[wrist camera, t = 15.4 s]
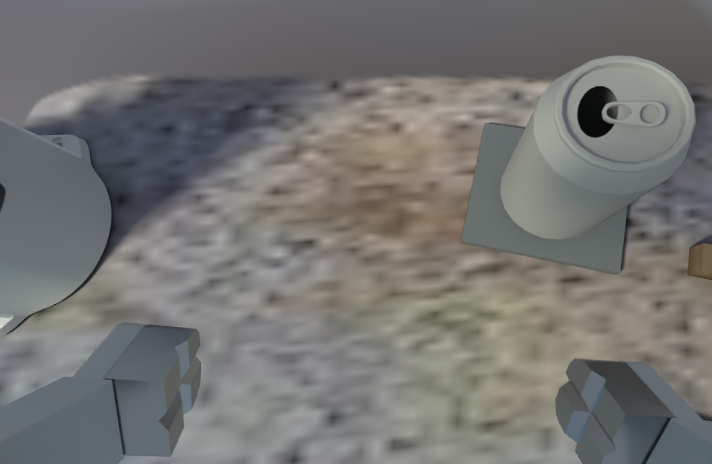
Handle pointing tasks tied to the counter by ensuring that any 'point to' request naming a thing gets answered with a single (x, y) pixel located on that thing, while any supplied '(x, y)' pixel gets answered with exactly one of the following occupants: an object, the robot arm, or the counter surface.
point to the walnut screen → (700, 261)
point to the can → (597, 145)
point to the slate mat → (501, 233)
